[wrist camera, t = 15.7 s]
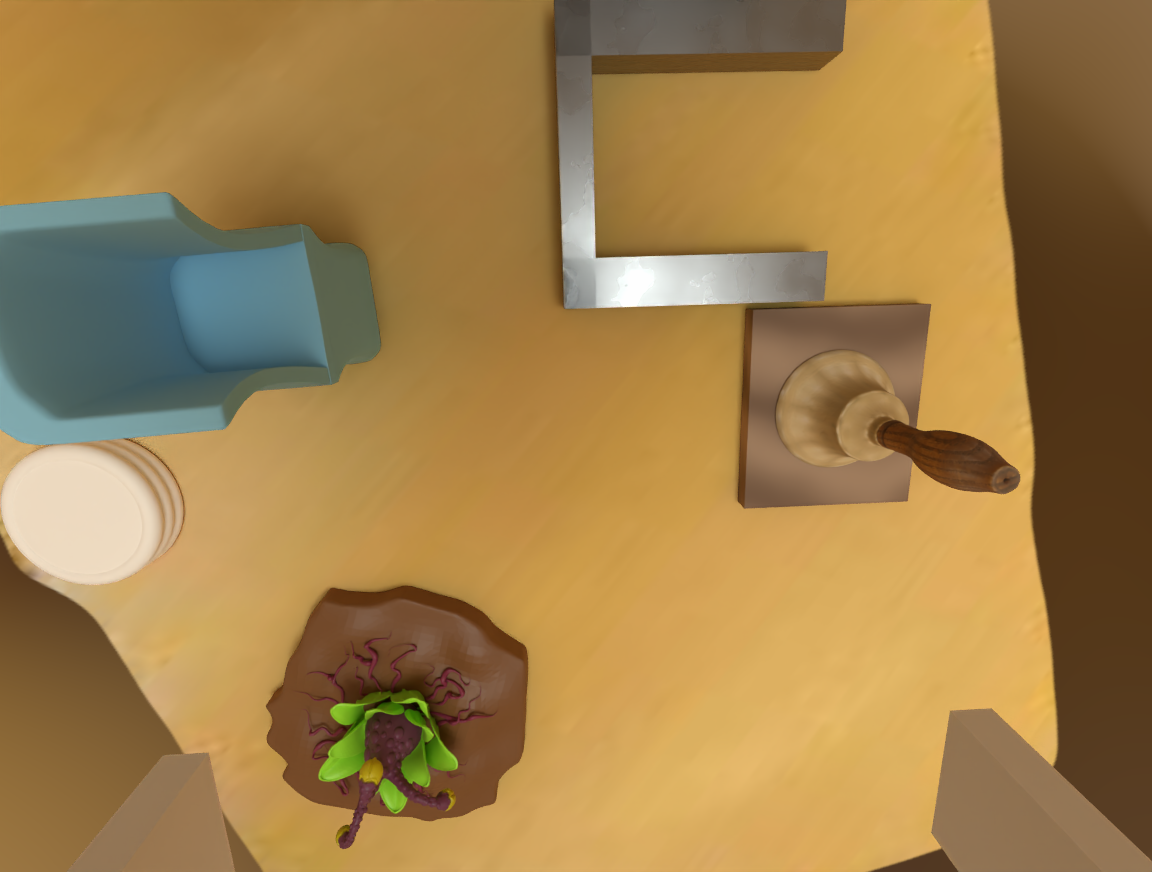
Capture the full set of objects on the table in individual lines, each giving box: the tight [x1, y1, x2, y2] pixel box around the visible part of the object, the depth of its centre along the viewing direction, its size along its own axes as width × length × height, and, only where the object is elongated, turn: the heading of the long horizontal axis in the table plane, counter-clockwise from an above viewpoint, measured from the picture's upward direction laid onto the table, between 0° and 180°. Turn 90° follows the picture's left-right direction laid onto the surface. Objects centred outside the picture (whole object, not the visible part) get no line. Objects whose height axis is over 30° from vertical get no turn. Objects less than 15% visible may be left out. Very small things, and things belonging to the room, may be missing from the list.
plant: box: [266, 586, 528, 849], centre depth 41 cm, size 20×20×11 cm
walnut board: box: [738, 304, 931, 508], centre depth 41 cm, size 14×12×2 cm
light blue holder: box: [0, 192, 381, 445], centre depth 29 cm, size 8×8×20 cm
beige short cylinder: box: [0, 439, 184, 585], centre depth 40 cm, size 10×10×4 cm
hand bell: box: [776, 350, 1020, 494], centre depth 33 cm, size 8×8×16 cm
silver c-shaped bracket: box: [554, 0, 846, 309], centre depth 36 cm, size 17×16×3 cm
